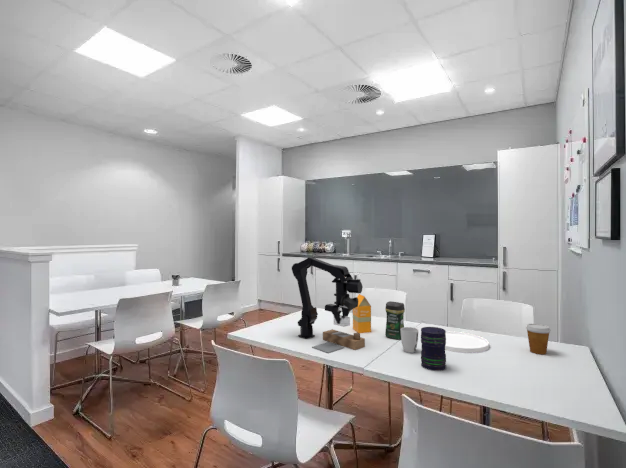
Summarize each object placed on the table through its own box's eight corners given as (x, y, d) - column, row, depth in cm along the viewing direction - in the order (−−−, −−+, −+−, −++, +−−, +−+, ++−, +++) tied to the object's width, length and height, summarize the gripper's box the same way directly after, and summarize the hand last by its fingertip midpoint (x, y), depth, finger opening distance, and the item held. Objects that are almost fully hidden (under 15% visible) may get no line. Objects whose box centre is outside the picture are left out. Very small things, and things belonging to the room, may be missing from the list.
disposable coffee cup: (547, 350, 163) (546, 324, 163) (553, 356, 154) (553, 329, 154) (523, 347, 167) (523, 322, 167) (528, 354, 158) (528, 327, 158)
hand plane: (322, 339, 181) (322, 327, 181) (332, 336, 186) (332, 324, 186) (355, 350, 165) (355, 336, 165) (364, 346, 170) (364, 333, 170)
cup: (419, 354, 159) (419, 332, 159) (400, 353, 160) (400, 331, 160) (417, 348, 167) (417, 327, 167) (400, 347, 168) (400, 326, 168)
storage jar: (415, 364, 147) (415, 328, 147) (432, 360, 152) (432, 325, 152) (434, 372, 138) (434, 334, 138) (451, 367, 143) (451, 331, 143)
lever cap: (333, 324, 177) (333, 314, 177) (339, 322, 180) (339, 313, 180) (343, 326, 172) (343, 317, 172) (350, 325, 175) (349, 315, 175)
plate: (425, 334, 191) (424, 330, 191) (480, 337, 185) (480, 332, 185) (431, 351, 163) (431, 346, 163) (496, 355, 158) (496, 350, 158)
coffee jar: (383, 337, 185) (382, 302, 185) (390, 333, 191) (389, 299, 191) (400, 340, 179) (400, 304, 179) (406, 337, 185) (406, 301, 185)
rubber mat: (311, 347, 169) (311, 346, 169) (328, 342, 176) (328, 341, 176) (328, 353, 161) (328, 352, 161) (344, 347, 168) (344, 347, 168)
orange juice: (358, 333, 192) (358, 296, 192) (352, 329, 201) (352, 294, 201) (371, 332, 194) (371, 296, 194) (365, 328, 203) (365, 293, 203)
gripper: (340, 296, 164) (340, 329, 164) (366, 291, 176) (366, 322, 177) (323, 293, 172) (324, 325, 172) (349, 289, 185) (349, 318, 185)
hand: (341, 322), depth 176 cm, fingers closed on lever cap, 4 cm apart
